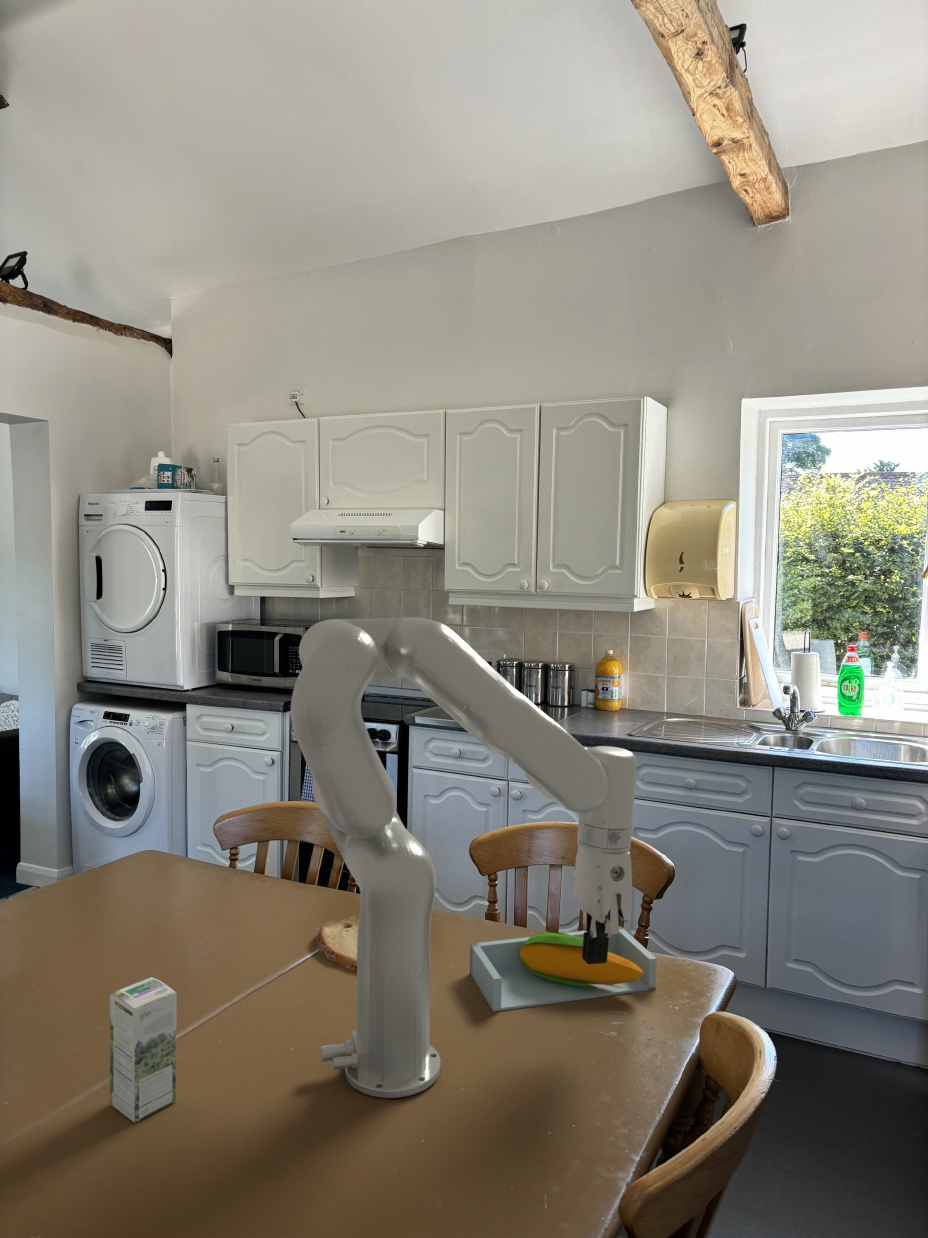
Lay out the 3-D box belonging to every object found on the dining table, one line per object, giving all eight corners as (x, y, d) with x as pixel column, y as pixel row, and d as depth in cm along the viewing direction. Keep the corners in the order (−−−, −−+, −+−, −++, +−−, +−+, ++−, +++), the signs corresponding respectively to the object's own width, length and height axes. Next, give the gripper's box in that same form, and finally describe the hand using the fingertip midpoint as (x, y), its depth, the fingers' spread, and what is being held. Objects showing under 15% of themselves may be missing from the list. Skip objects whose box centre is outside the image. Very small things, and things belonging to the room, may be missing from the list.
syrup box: (152, 1084, 110) (150, 974, 109) (178, 1103, 107) (177, 989, 106) (109, 1105, 106) (107, 991, 105) (135, 1126, 102) (133, 1007, 101)
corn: (526, 917, 144) (647, 937, 137) (526, 960, 145) (647, 982, 138) (513, 938, 137) (640, 960, 130) (513, 983, 138) (639, 1007, 131)
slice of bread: (407, 979, 140) (407, 956, 140) (298, 973, 141) (298, 950, 141) (422, 932, 158) (422, 912, 158) (325, 927, 159) (325, 907, 159)
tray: (493, 1011, 129) (494, 979, 129) (469, 973, 141) (470, 944, 141) (655, 989, 137) (656, 958, 136) (620, 954, 149) (620, 926, 148)
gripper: (653, 851, 117) (642, 984, 117) (605, 819, 131) (595, 938, 132) (603, 852, 114) (592, 987, 115) (559, 820, 129) (550, 940, 130)
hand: (594, 961), depth 123 cm, fingers closed
